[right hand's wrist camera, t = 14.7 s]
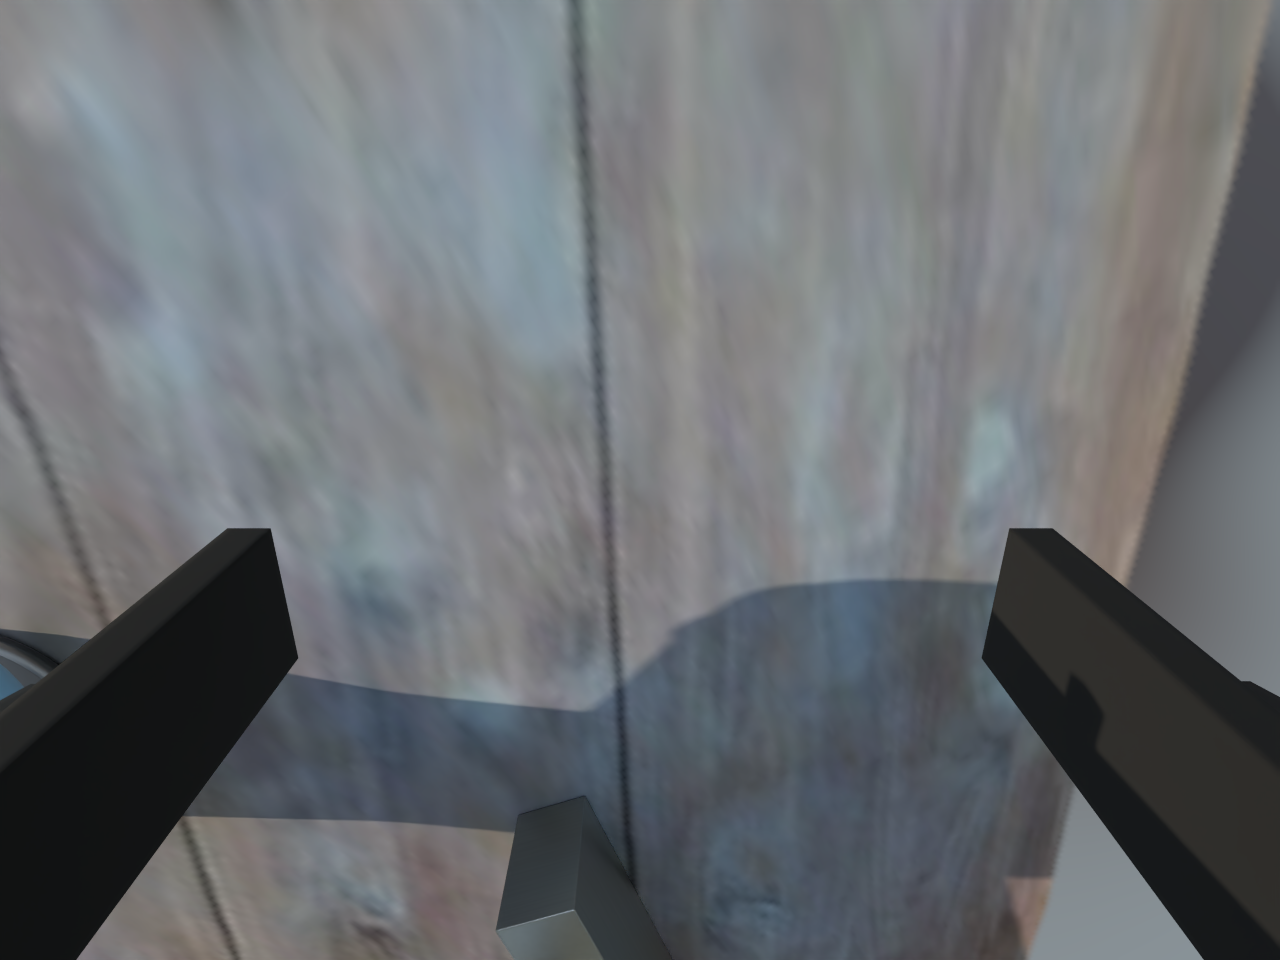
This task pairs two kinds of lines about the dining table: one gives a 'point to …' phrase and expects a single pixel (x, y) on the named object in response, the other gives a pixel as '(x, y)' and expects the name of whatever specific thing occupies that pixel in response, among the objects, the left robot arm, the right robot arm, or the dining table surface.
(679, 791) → the dining table surface
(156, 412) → the dining table surface
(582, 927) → the bar
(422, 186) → the dining table surface
